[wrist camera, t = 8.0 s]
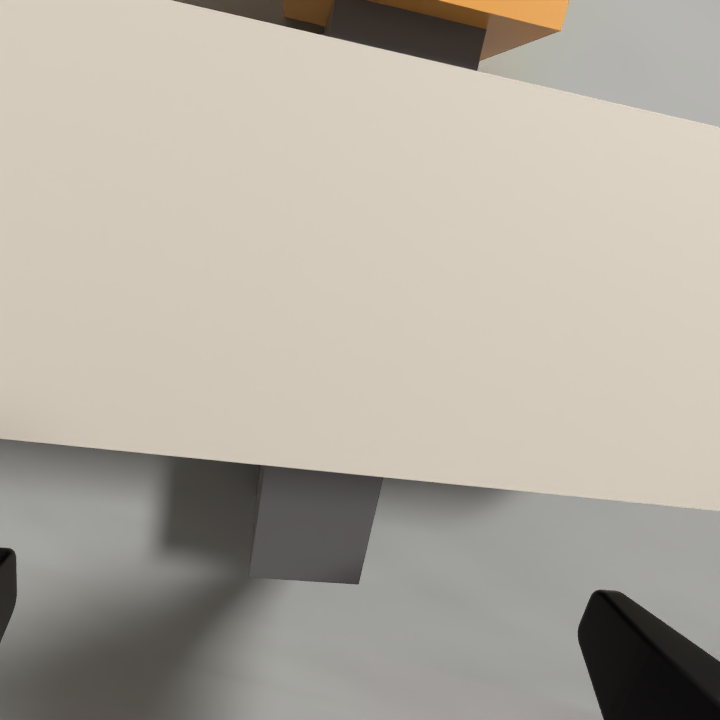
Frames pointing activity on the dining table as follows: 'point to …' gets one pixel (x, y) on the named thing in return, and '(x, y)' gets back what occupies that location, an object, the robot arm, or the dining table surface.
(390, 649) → the dining table surface
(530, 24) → the orange grey square bar
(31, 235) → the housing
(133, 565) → the dining table surface
